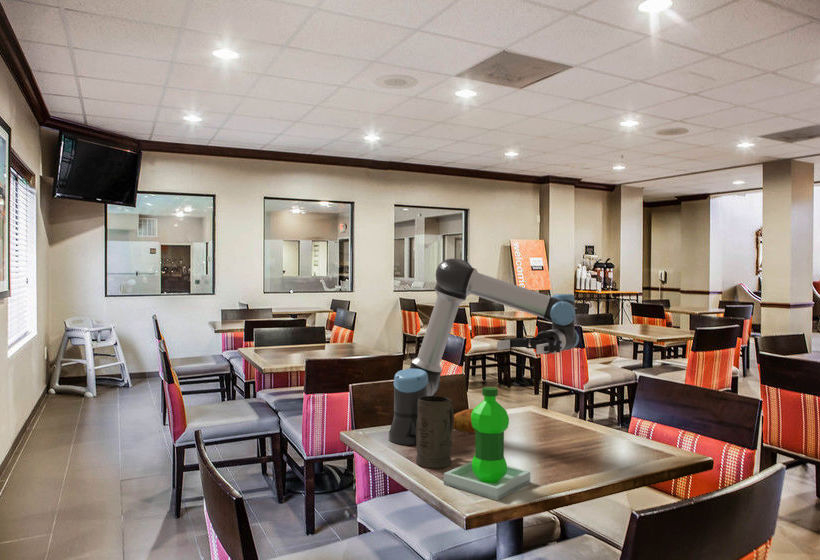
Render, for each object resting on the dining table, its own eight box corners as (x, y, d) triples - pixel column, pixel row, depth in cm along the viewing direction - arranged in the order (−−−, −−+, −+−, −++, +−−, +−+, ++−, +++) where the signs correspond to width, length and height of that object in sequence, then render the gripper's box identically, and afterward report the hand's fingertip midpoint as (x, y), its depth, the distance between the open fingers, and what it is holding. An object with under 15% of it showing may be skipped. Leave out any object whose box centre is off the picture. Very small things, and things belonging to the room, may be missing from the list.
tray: (443, 484, 156) (443, 473, 156) (478, 468, 169) (478, 458, 169) (497, 500, 145) (497, 488, 145) (530, 482, 158) (530, 471, 158)
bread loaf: (496, 433, 215) (498, 411, 216) (473, 436, 204) (476, 413, 204) (464, 425, 225) (467, 404, 225) (441, 427, 213) (443, 406, 213)
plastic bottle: (464, 474, 161) (465, 385, 161) (500, 472, 163) (500, 384, 163) (477, 487, 151) (478, 392, 151) (514, 484, 153) (515, 391, 153)
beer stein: (440, 471, 166) (443, 401, 167) (408, 465, 171) (411, 397, 172) (462, 460, 179) (464, 396, 180) (431, 454, 185) (434, 392, 186)
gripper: (585, 356, 183) (555, 364, 166) (516, 349, 199) (482, 355, 183) (586, 333, 182) (555, 338, 166) (516, 327, 199) (482, 332, 183)
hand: (517, 347), depth 174 cm, fingers open, 13 cm apart
